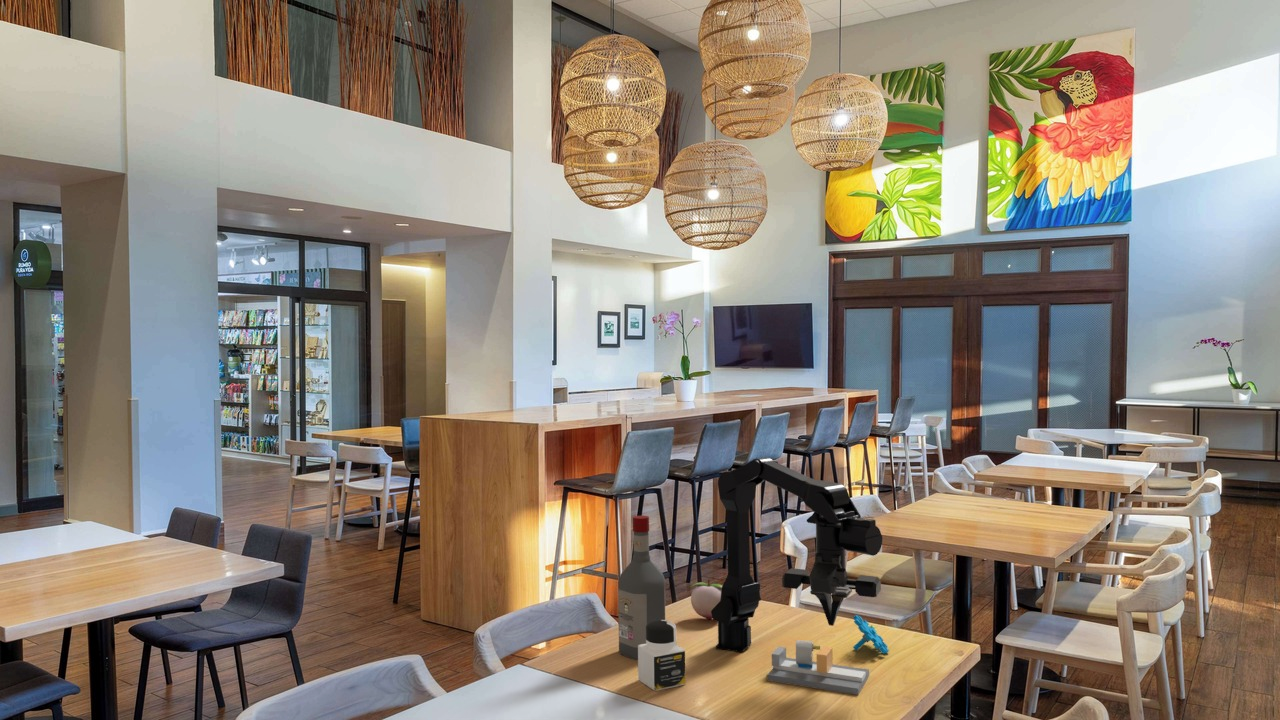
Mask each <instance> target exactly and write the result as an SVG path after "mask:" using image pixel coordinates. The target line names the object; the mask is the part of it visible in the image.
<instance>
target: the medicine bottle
mask: <svg viewBox="0 0 1280 720" xmlns="http://www.w3.org/2000/svg"><path fill="white" fill-rule="evenodd" d="M637 665H638V666H637V668H638V669H637V672H638V674H637V676H638V677H637V678H638V680H639V681H640V682H641V683H642V684H644V685H646V687H648V688H650V689H651V690H653V691H654V692H658V691H663V690H666V689H671V688H676V687H677V688H678V687H679V686H680V687H681V686H685V685H686V650H685V648H683V647H681V646H680V645H679V644H677V626H676V624H675V623H674V622H672V621H670V620H666V619H665V620H655V621H652V622H650V623H648V624H647V625H646V644H641V645H638V660H637Z"/></svg>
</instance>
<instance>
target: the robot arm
mask: <svg viewBox="0 0 1280 720" xmlns="http://www.w3.org/2000/svg"><path fill="white" fill-rule="evenodd" d="M763 482H768V483H770V484H771V485H774V486H776V487H778V488H781V489H782V490H785V491H786V492H788V493H790V494H793V495H794V496H797V497H799V498H800V499H801V500H802V501H803V503H804V505H805V506H806V507H807V508H809V509H810V510H811V511H813V513H812V514H811V515H810V516H809V517H808V518H807V519H806V522H807V523H808V524H815V554H814V555H815V557H814V563H813V567H812V568H811V570H810V573H809V572H808V569H802V568H801V569H800V568H792V567H791V568H789V569H788V570H787V571H786V572H785V573H784V574H783V575H782V578H781V581H782V582H781V583H782V585H781V586H782V588H784V589H794V590H797V589H798V588H799V587H800V586H801V585H810V592H809V593H810V594H811V596H812V595H813V596H815V597H816V598H817V599H818V600H819V602H820V605H821V608H822V610H823V612H824V615H825V618H826V620H827V624H828V626H832V627H833V626H834V625H835V623H836V619H837V617H838V614H839V611H840V608H841V605H842V603H843V601H844V599H847V598H848V597H849V596H850V595H851V593H853V590H855V593H856V594H857V595H858V596H860V597H865V598H867V597H869V598H877V597H878V595H879V593H880V592H881V591H882V582H881V579H880V578H879V577H878V576H875V575H874V576H872V575H864V574H863V575H862V574H860V575H859V576H858V578H857V579H851V578H848V572H847V570H846V555H847V552H852V553H855V554H856V553H857V554H861V555H867V556H873V557H874V556H876V555H878V554H879V552H880V551H881V549H882V545H883V535H882V533H881V530H880V528H879V527H878V526H877V525H876V522H877V521H876V519H873V518H867V519H866V518H862V517H861V516H862V515H861V514H860V512H859V510H858V509H857V507H856V505H855V504H854V503H853V501H852V499H851V497H850V494H849V491H848V489H847V487H846V486H845V485H843V484H841V483H837V482H834V481H830V480H823V479H822V480H821V479H816V478H812V477H809V476H807V475H804V474H803V473H800V472H798V471H796V470H794V469H792V468H790V467H787V466H785V465H783V464H780V463H779V462H777V461H774V460H773V459H772V458H771V457H759V458H753V459H752V460H751V461H749V462H747V463H746V464H743V465H742V466H739V467H736V468H735V469H733V470H728V471H724V472H722V473H721V474H720V476H718V480H717V488H718V496H719V500H720V501H721V503H722V505H723V507H724V508H725V510H726V539H727V542H726V544H727V549H726V550H727V551H726V552H727V575H726V576H725V580H724V581H723V583H722V590H721V599H720V602H719V603H718V604H717V605H716V606H715V607H714V608H713V609H712V610H711V614H712V620H713V622H717V639H718V640H717V644H716V645H715V649H718V650H726V651H732V652H739V653H742V652H744V651H745V650H747V649H748V648H749V647H750V645H752V625H750V624H749V622H750V620H749V618H753V617H754V616H755V613H756V609H757V608H758V607H759V605H760V604H759V603H760V601H762V598H761V591H760V590H761V583H760V582H755V580H754V578H753V577H752V575H751V563H750V562H751V560H750V559H751V557H750V556H751V553H750V550H751V549H750V513H749V512H750V508H751V506H752V504H753V502H754V499H755V497H756V490H757V486H759V485H760V484H762V483H763ZM846 551H847V552H846Z"/></svg>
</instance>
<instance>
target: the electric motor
mask: <svg viewBox="0 0 1280 720" xmlns="http://www.w3.org/2000/svg"><path fill="white" fill-rule="evenodd" d="M820 649H821V645H814V643H813V641H812V640H802V639H801V640H799V639H797V640H795V659H796V664H798V667H802V668H812V666H813V662H814V661H813V652H814V650H818V651H819V650H820Z"/></svg>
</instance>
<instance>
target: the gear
mask: <svg viewBox="0 0 1280 720" xmlns="http://www.w3.org/2000/svg"><path fill="white" fill-rule="evenodd" d="M852 618H853V623H854V624H855V625H856V626H857V629H858V630H859V631H860V633H862V634H863V635H862V636H861V637H862V638H861V639H860V640H859V641H858V642H857V643H856V644H854V646H853V650H855V651H858V650H859V649H860V648H861V647H862V646H863V645H865V644H866V643H869V642H872V643H873V644H872V645H873V646H874V648H875V649H876V650H878V649H879V652H881V653H882V654H883V655H884V654H888V652H889V651H890V650H889V649H888V645H887V644H886V643H885V642H884V639H883V638H882V636H881V635H879V634H878V633H877V630H876V629H875V626H873V625H870V624H869V622H868V620H866V619H863V618H862V617H861V616H860V615H859V614H858V615H856V614H855V615H854V616H852ZM869 625H870V626H869Z"/></svg>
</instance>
